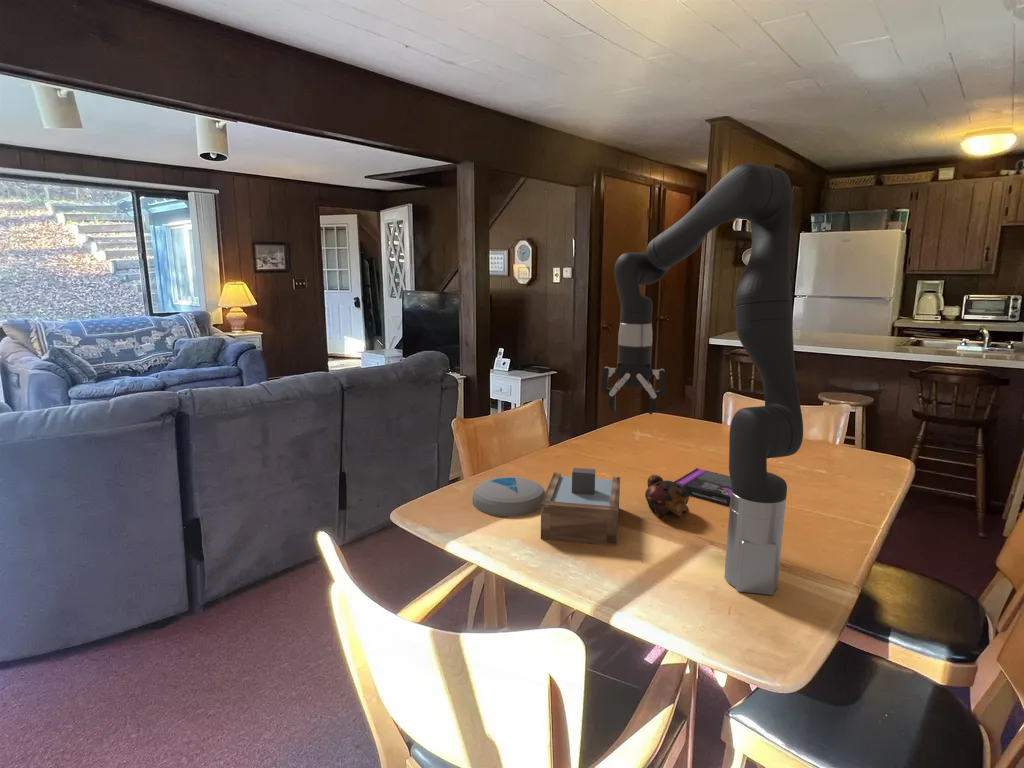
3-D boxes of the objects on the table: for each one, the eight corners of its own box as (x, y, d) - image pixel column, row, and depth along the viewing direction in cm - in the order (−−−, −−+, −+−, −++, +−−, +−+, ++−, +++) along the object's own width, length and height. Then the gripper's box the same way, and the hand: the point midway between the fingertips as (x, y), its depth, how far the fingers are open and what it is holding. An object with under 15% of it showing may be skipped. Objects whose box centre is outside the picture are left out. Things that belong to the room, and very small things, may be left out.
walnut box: (616, 545, 122) (617, 510, 121) (540, 538, 126) (540, 504, 124) (619, 508, 142) (620, 477, 140) (553, 502, 145) (553, 472, 143)
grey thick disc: (486, 522, 134) (486, 502, 133) (462, 494, 151) (462, 475, 150) (558, 510, 141) (559, 490, 140) (528, 484, 158) (528, 466, 157)
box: (671, 494, 153) (746, 513, 139) (671, 481, 152) (746, 500, 139) (695, 479, 163) (767, 496, 149) (696, 467, 162) (768, 483, 149)
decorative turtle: (664, 499, 147) (665, 469, 145) (703, 523, 133) (706, 490, 132) (630, 504, 144) (632, 474, 142) (668, 530, 130) (670, 496, 128)
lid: (612, 514, 124) (613, 487, 122) (547, 508, 126) (547, 482, 125) (615, 483, 141) (616, 460, 140) (558, 479, 144) (558, 456, 143)
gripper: (601, 344, 130) (599, 414, 134) (667, 346, 127) (663, 418, 130) (604, 340, 137) (602, 406, 141) (667, 341, 134) (663, 410, 137)
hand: (632, 412), depth 135 cm, fingers open, 8 cm apart
